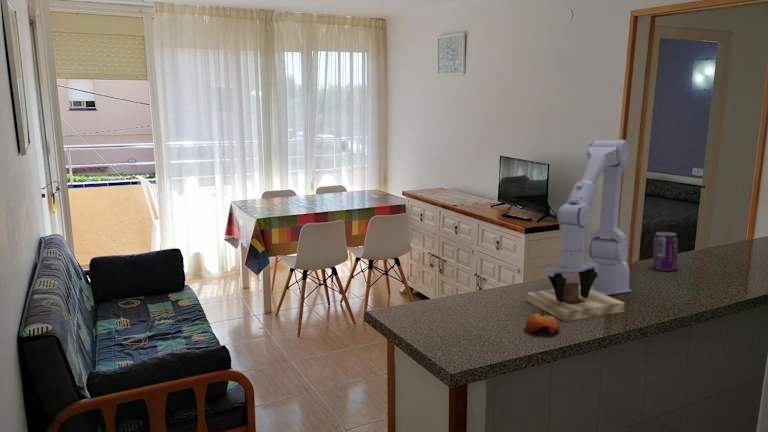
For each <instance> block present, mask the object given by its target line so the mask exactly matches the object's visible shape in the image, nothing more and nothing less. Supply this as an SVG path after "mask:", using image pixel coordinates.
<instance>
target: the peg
mask: <svg viewBox="0 0 768 432" xmlns="http://www.w3.org/2000/svg"><path fill="white" fill-rule="evenodd" d="M579 285H580V284H579V283H578V282H575V281H566V283H565V288H564V302H566V303H568V304H576V303H579Z"/></svg>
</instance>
